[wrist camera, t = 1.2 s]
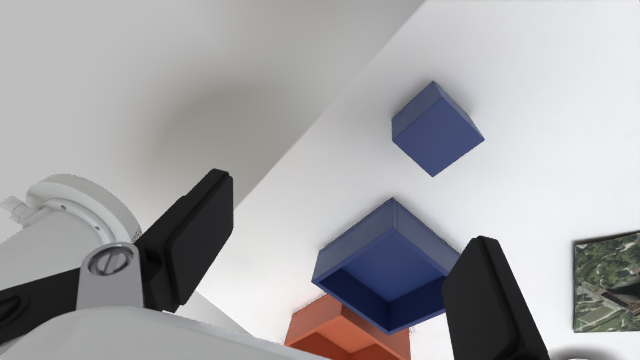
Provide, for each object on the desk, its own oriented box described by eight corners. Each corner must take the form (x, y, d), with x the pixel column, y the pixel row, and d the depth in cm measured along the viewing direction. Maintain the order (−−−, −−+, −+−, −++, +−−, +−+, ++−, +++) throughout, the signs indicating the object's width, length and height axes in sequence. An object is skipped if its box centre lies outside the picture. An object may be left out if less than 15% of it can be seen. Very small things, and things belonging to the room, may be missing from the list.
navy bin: (318, 251, 36) (310, 282, 32) (392, 197, 30) (393, 227, 26) (388, 302, 39) (388, 336, 35) (469, 262, 32) (480, 298, 28)
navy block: (391, 119, 25) (391, 140, 22) (433, 80, 23) (442, 96, 19) (426, 151, 26) (432, 177, 23) (470, 117, 24) (485, 140, 20)
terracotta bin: (292, 314, 45) (283, 344, 41) (345, 283, 38) (340, 315, 34) (350, 352, 47) (347, 384, 43) (409, 329, 41) (411, 363, 37)
